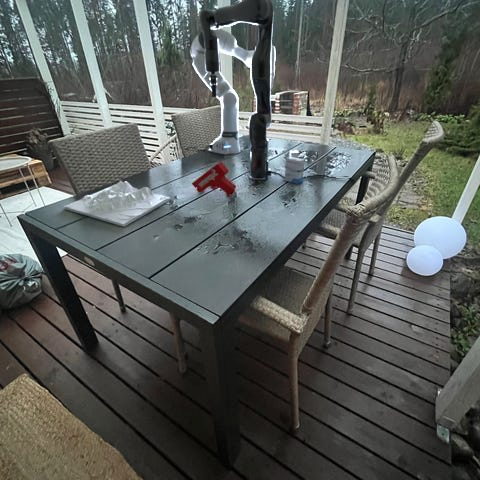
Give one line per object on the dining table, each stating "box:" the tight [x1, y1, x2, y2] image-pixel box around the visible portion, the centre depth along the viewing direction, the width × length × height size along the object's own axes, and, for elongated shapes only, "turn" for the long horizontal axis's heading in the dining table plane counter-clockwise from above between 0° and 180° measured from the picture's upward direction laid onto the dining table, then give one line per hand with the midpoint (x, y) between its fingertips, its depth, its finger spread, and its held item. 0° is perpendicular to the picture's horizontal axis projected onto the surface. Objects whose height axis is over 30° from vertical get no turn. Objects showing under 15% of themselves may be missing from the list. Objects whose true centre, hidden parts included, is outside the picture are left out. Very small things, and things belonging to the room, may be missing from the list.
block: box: [288, 150, 300, 158], centre depth 177 cm, size 4×5×5 cm
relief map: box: [63, 179, 171, 227], centre depth 119 cm, size 27×35×5 cm
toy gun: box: [191, 161, 237, 197], centre depth 128 cm, size 18×4×15 cm
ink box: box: [284, 156, 306, 185], centre depth 140 cm, size 8×5×12 cm, turn 47°
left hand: (267, 94), depth 197 cm, fingers open, 8 cm apart
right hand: (214, 96), depth 148 cm, fingers open, 8 cm apart
